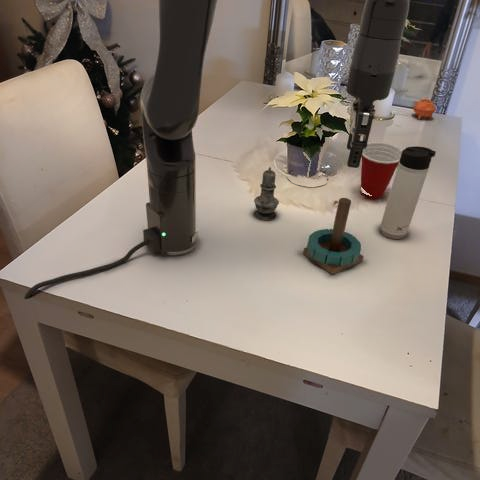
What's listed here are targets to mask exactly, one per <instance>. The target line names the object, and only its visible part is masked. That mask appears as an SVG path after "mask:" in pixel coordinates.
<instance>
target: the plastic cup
mask: <svg viewBox="0 0 480 480" xmlns="http://www.w3.org/2000/svg"><path fill="white" fill-rule="evenodd" d="M402 151H403V150H402V149H401V148H400V147H399V146H397V145H395V144H393V143H392V144H391V143H388V142H384V141H383V142H381V141H372V142H371V141H368V142H367V147H366V149H363V153H362V157H361V170H360V188H361V187H362V188H363V189H364V190H365V191H366V192H367V193H369V194H370V195H372V196H369V195H366V194H364V193H362V194H361V193H360V195H361V196H362V197H364V198H366V199H369V200H380V199H382V197H383V196H384V194H385V192H386V190H387V187H388V186H389V184H390V182H391V180H392V178H393V176H394V175H395V173H396V170H397V166H398V164H399V160H400V158H401V154H402Z"/></svg>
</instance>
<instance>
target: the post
mask: <svg viewBox="0 0 480 480" xmlns="http://www.w3.org/2000/svg"><path fill="white" fill-rule="evenodd" d="M351 204H352V200H351V199H350V198H347V197H340V198H339V199H338V202H337V207H336V212H335V217H334V221H333V226H332V229H333V230H332V235H331V240H330V241H328V242H321V243H320V244H319V245H320V246H321V247H322V248H324V249H326V250H328V251H333V252H345V251H348V250H349V249H348V248H347V247H346V246H344V245H342V240H343V235H344V232H346V225H347V222H348V219H349V218H348V217H349V213H350V210H351ZM302 255H304V256H305V257H306V258H308V259H309V260H310V261H312V262H313V263H315V264H316V265H318V266H319V267H320V268H322V269H323V270H324V271H325V272H327V273H328V274H329V275H331V276H334V275H336V274H338V273H340V272H342V271H344V270H347V269H349V268H351V267H354V266H356V265H358V264H361V263H363V260H364V255H362V254H361V253H360V256H359V258H358V259H357V260H356V261H355V262H354V263H351V264H348V265H342V266H340V265H338V266H336V265H329V264H326V262H325V263H322V262H320V261H318V260H316V259H314V257H312V256H311V255H310V254H309V253H308V251H307V246H306V247H304V248H303V251H302Z"/></svg>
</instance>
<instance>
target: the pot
mask: <svg viewBox="0 0 480 480" xmlns="http://www.w3.org/2000/svg"><path fill="white" fill-rule="evenodd" d="M412 110H413V112H414V113H415V116H417V118H418V119H417V120H421V118H422V117H428V119H431V118H432V117H433V115H434V113H435V112H436V110H437V108H436V105H435V103H433V101H432V100H431V99H428V98H422V99H420V101H417V102H416V103H414V105H413V106H412Z"/></svg>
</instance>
